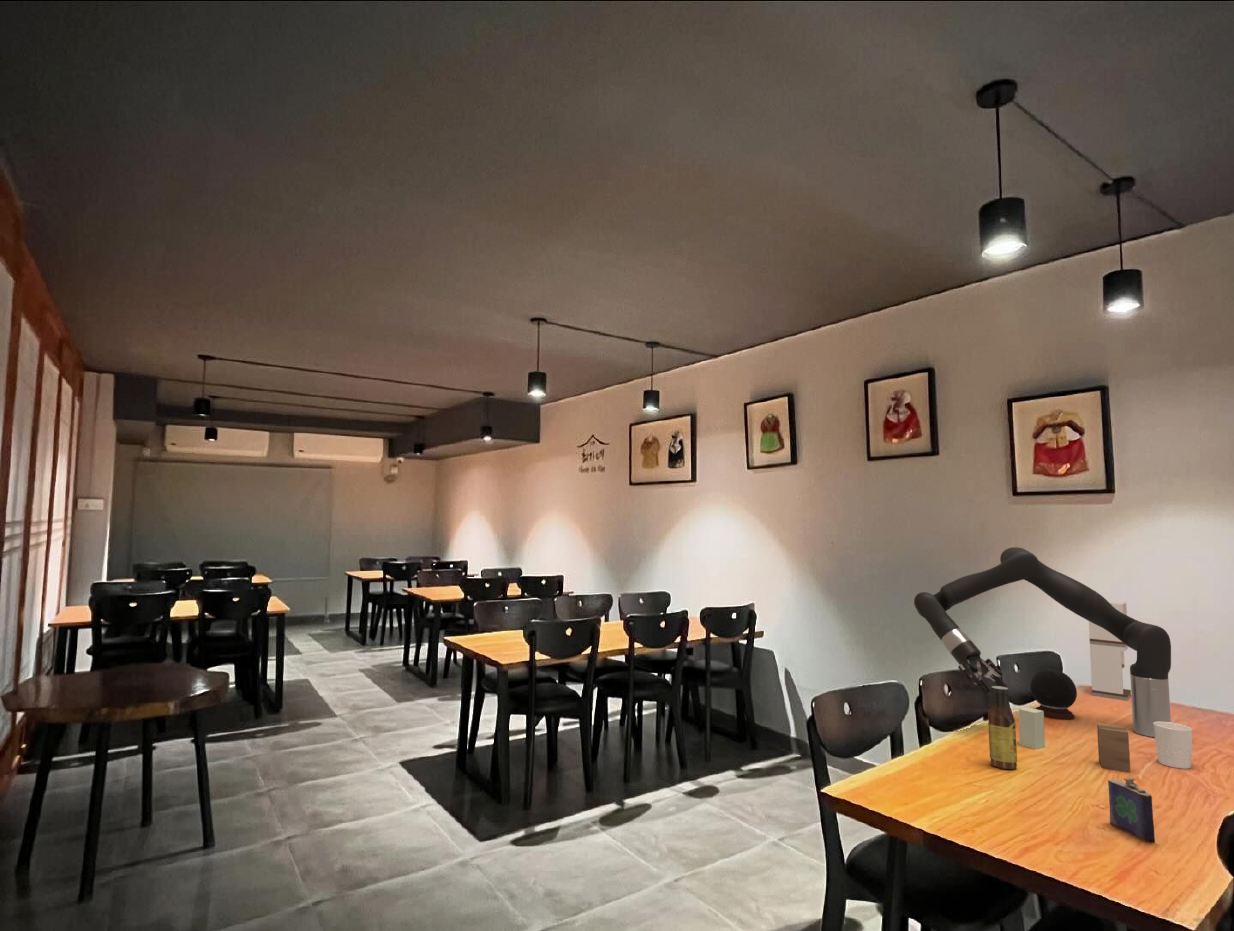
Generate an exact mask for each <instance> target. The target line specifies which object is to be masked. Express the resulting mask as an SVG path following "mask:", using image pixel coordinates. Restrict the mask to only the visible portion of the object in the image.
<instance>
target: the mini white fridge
mask: <svg viewBox="0 0 1234 931" xmlns="http://www.w3.org/2000/svg"><path fill="white" fill-rule="evenodd" d="M1109 603H1110V602H1109ZM1110 604H1111V605H1112V606H1113V607H1114V608H1115V609H1117V610H1118V611H1120V612H1121V613H1123V614H1125V615H1127V616H1128V614H1127V613H1128V610H1127V602H1126V601H1123V602H1121V603H1117V602H1116V603H1115V602H1114V603H1113V602H1111V603H1110ZM1088 630H1089V631H1088V632H1089V634H1088V638H1089V653H1090V654H1089V657H1090V678H1091V695H1092V696H1093V697H1100V698H1107V699H1114V700H1121V701H1129V699H1130V698H1131V689H1128V688H1127V689H1126V688H1124V679H1123V669H1124V668H1125V666H1126V665H1125V652H1126V651H1127V650H1128V649H1129V648H1130V647H1129V646H1127V645H1126V644H1124V643H1123V642H1122V641H1121V640H1119V639H1118V638H1117V637H1115V636H1114V635H1112V634H1111V633H1110V632H1108V631H1107V630H1105V629H1104V628H1102V627H1100V626H1098V625H1096V624H1094V623H1092V622H1090V621H1088Z"/></svg>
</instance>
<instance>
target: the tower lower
mask: <svg viewBox="0 0 1234 931" xmlns="http://www.w3.org/2000/svg"><path fill="white" fill-rule="evenodd" d="M1097 745H1098V746H1097V747H1098V748H1097V749H1098V750H1097V752H1098V762H1099V765H1100V767H1101V769H1103V770H1108V771H1109V770H1110V771H1116V772H1124V773H1129V774H1131V773H1132V772H1131V757H1130V755H1131V754H1130V752H1129V753H1128V752H1122V751H1115V750H1108V749H1102V748H1100V746H1099V744H1098V743H1097Z"/></svg>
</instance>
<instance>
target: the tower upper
mask: <svg viewBox="0 0 1234 931" xmlns="http://www.w3.org/2000/svg"><path fill="white" fill-rule="evenodd" d="M1096 729H1097V730H1096V732H1097V745H1098V744H1099V746H1100V748H1102V749H1108V750H1115V751H1122V752H1128V753H1130V737H1129V732H1128V729H1127V728H1126V726H1122V725H1115V724H1114V725H1113V724H1107V723H1099V722H1096Z"/></svg>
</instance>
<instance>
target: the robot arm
mask: <svg viewBox="0 0 1234 931" xmlns="http://www.w3.org/2000/svg"><path fill="white" fill-rule="evenodd" d="M999 558H1000V564H998V565H996V566H994V567H991V568H989V569H986V570H984V571H983V570H982V571H980V572H976V573H975V572H974V573H972V574H968V575H965V576H961V577H959V578H957V579H954V580H953V581H950V582H948V583H945V584H944V585H942V586H941V588H940V590H939V591H938V592H936V593H934V594H932V593H930V592H927V591H922V592H919V593H917V594H916V595H915V597H914V599H913V603H914V607H915V609H916V612H917V613H918V615H919V616H920V617H922V618H924V619H925V620H926V622H928V624H929V625H930V627H931V629H932V630H933V632H934V633H935V635H936V636H937V637H938V639H939V640H940V641H941V642H942V644H943V645H944V647H945V649H946V650H947V651H948V652H949V654H950V655H951V656H952V657H953V659H954V660H955V661H956V662H957V664H958V666H957V668H958V669H959V670H960V672H961V673H962V675H963V676H964V677H965V679H966V680H967V682H968V683H970V684H972V683H973V684H974V685H977V686H978V688H979V689H980V691H981V692H982V693H984V695H985V696H989V695H990V693H991V694H992V692H991V687H990V686H989V685H988V684H987V683H986V682H985V681H984V679H983V677H985V678H986V679H990V680H992V682H994V684H995V686H1001V687H1006V688H1008V689H1009V686H1008V685H1007V684H1006V682H1004V680H1003V679H1002V678H1001V677H1002V676H1003V674H1004V673H1003V672H1002V670H1000V669H999V668H998V666H997V665H996V664H995V663H994V661H992V659H990V658H987V659H985V660H984V659H983V658H982V657H981V654H982V651H981V650H980V649H979V648H978V646H976V644H975V643H974V642H973V640H972V639H971V638H970V637H969V635H968V634H966V633H965V632H964V631H963V630H962V629H961V628H960V626H959V625H958V624H957V623H956V622H955V621H954V619H953V618H952V617H951V616H950V615H949V614H948V613H947V611H949V610H950V609H951V608H953V607H955V606H956V605H959V604H961V603H963V602H965V601H968V600H970V599H971V598H974V597H976V596H979V595H981V594H984V593H986V592H988V591H991V590H993V589H996V588H998V587H1002V586H1005V585H1009V584H1011V583H1015V582H1019V581H1022V580H1024V581H1026V582H1027V583H1030V584H1032V585H1033V586H1036V588H1038V589H1039V590H1041V591H1042V592H1044V594H1046V595H1047V596H1049V597H1050V598H1052V599H1053V600H1054V601H1055V602H1057V603H1058V604H1060V605H1061V606H1062V607H1064V608H1065V609H1067V610H1068V611H1071V612H1073V614H1075V615H1077V616H1079V617H1081V618H1083V619H1084V620H1086V621H1088V622H1089V621H1090V622H1092V623H1094V624H1096V625H1098V626H1100V627H1102V628H1104V629H1105V630H1107V631H1108V632H1110V633H1111V634H1112V635H1114V636H1115V637H1117V638H1118V639H1119V640H1121V641H1122V642H1123V643H1124V644H1126V645H1127V646H1128V647H1129V648H1130V649H1132V650H1134V651H1135V652H1136V661H1135V663H1133V664H1130V666H1129V676H1130V677H1129V678H1130V690H1131V696H1130V698H1131V711H1132V712H1131V714H1132V718H1131V719H1132V731H1133V732H1134V733H1137V734H1138V735H1142V736H1146V737H1150V738H1155V734H1154V725H1153V723H1154V722H1171V721H1172V719H1171V704H1170V703H1171V700H1170V687H1169V686H1170V684H1169V674H1170V671H1171V668H1172V643H1171V639H1170V635H1169V633H1168V632H1167V631H1166V630H1165V629H1164V628H1162V627H1161V626H1158V625H1155V624H1152V623H1151V624H1150V623H1147V622H1146V623H1145V622H1142V621H1139V620H1137V619H1134V618H1133V617H1131V616H1129V615H1128V614H1127V615H1125V614H1123V613H1121V612H1120V611H1118V610H1117V609H1115V608H1114V607H1113V606H1112V605H1111V604H1110V601H1108V599H1106V598H1105V597H1104V596H1103V595H1101V594H1100V593H1099V592H1097V591H1096V590H1094V589H1092V588H1091V587H1089V586H1087V585H1085V583H1082V582H1080V581H1078V580H1076V579H1074V578H1073V577H1070V576H1068V575H1067V574H1064V573H1061V572H1059V571H1057V570H1055V569H1052V568H1051V567H1049V566H1047V565H1046V564H1044V563H1043V562H1042V561H1040V560H1039V559H1038V557H1037V556H1036V555H1034V553H1032V552H1030V551H1029V550H1026V549H1024V548H1022V547H1014V546H1013V547H1009V548H1005V549H1004V550H1003V551H1002V552H1001V554H1000V557H999ZM969 675H970V676H969ZM1171 723H1172V722H1171Z"/></svg>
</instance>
